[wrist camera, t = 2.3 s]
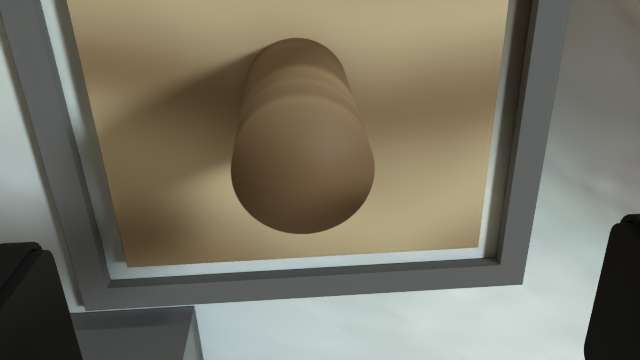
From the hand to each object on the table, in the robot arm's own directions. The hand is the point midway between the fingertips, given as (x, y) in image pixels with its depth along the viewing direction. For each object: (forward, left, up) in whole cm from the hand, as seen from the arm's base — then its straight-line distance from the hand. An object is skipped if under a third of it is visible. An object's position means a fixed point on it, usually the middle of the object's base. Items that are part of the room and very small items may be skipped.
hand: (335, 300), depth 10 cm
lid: (-1, 0, -11) cm, 11 cm away
